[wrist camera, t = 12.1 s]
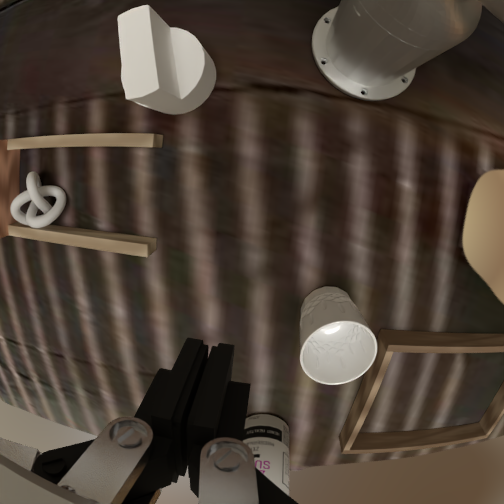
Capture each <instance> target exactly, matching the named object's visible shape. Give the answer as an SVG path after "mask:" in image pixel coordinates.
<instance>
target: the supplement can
mask: <svg viewBox="0 0 504 504" xmlns="http://www.w3.org/2000/svg"><path fill="white" fill-rule="evenodd" d="M243 442H244V443H245V444H247V445H248V446H249V447H250V449H251V450H252V452H253V455H254V461H255V467H256V468H257V469H258V470H259V471H260V472H262V473H263V474H264V475H265V476H266V477H267V478H268V479H269V480H271V481H272V482H273V483H274V484H275V485H276V486H278V487H279V488H280V489H281V490H282V491H283V492H285V493H286V494H287V495H288V496H289V427H288V426H287V424H286V423H285V422H284V421H283V420H281V419H280V418H277V417H275V416H272V415H268V414H259V415H253V416H251V417H248V418H246V421H245V428H244V436H243Z"/></svg>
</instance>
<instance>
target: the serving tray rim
mask: <svg viewBox="0 0 504 504" xmlns="http://www.w3.org/2000/svg"><path fill="white" fill-rule="evenodd" d="M393 352H413V353H487V352H504V334H474V333H442V332H421V331H404V330H388V329H380V332H379V335H378V338H377V354H376V357H375V360H374V362H373V364H372V365H371V366H370V368H369V369H368V370H367V371H366V373H365V375H364V378H363V381H362V383H361V386H360V388H359V391H358V393H357V396H356V398H355V401H354V403H353V406H352V408H351V410H350V413H349V415H348V417H347V420H346V422H345V424H344V427H343V429H342V431H341V433H340V435H339V440H340V446H341V452H342V454H359V453H382V452H396V451H407V450H417V449H425V448H433V447H440V446H447V445H453V444H458V443H464V442H469V441H474V440H479V439H483V438H487V437H488V436H489V434H490V433H491V431H492V430H493V429H494V427H495V426H496V424H497V423H498V421H499V420H500V418H501V417H502V415H503V414H504V381H503V383H502V385H501V387H500V388H499V390H498V392H497V394H496V395H495V397H494V399H493V401H492V402H491V404H490V406H489V407H488V409H487V410H486V412H485V414H484V415H483V417H482V418H481V420H480V421H479V422H478V423H472V424H466V425H459V426H452V427H444V428H436V429H426V430H415V431H401V432H382V433H358V432H359V430H360V428H361V426H362V424H363V422H364V420H365V418H366V416H367V414H368V412H369V409H370V407H371V405H372V403H373V401H374V398H375V396H376V394H377V391H378V389H379V387H380V384H381V382H382V380H383V377H384V375H385V372H386V370H387V367H388V365H389V362H390V360H391V357H392V354H393Z"/></svg>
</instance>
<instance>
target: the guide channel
mask: <svg viewBox="0 0 504 504" xmlns="http://www.w3.org/2000/svg"><path fill="white" fill-rule="evenodd" d="M162 143H163V135H159V134H142V133H105V134H73V135H55V136H40V137H29V138H18V139H9V140H0V238H3V237H5V236H8V235H11V236H17V237H23V238H29V239H35V240H41V241H47V242H53V243H59V244H65V245H71V246H78V247H84V248H90V249H97V250H103V251H110V252H116V253H123V254H129V255H136V256H143V257H148V256H149V255H151V254H152V253H153V252H154V251H155V250H156V242H157V238H151V237H144V236H136V235H128V234H120V233H112V232H105V231H97V230H89V229H81V228H73V227H66V226H58V225H50V224H49V225H47V226H45V227H42V228H32V227H30V226H28V225H24V224H22V223H20V222H18V221H17V220H15V219H14V218H13V216H12V214H11V210H10V208H11V204H12V201H13V200H14V199H15V198H16V197H17V196H18V195H19V169H20V149H28V148H46V147H77V146H125V147H158V148H162Z"/></svg>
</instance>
